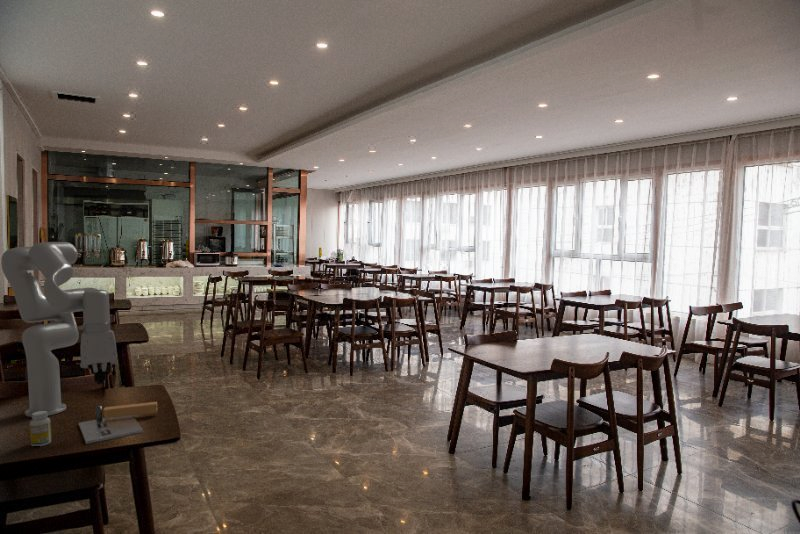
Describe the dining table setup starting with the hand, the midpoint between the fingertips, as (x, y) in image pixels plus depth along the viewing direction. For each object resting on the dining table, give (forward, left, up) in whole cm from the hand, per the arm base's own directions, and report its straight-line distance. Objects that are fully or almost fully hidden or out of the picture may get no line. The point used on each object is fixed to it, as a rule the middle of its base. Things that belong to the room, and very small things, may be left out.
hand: (100, 382), depth 178 cm
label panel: (+3, +2, -15) cm, 15 cm away
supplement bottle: (+4, -17, -15) cm, 23 cm away
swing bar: (-4, +9, -14) cm, 17 cm away
